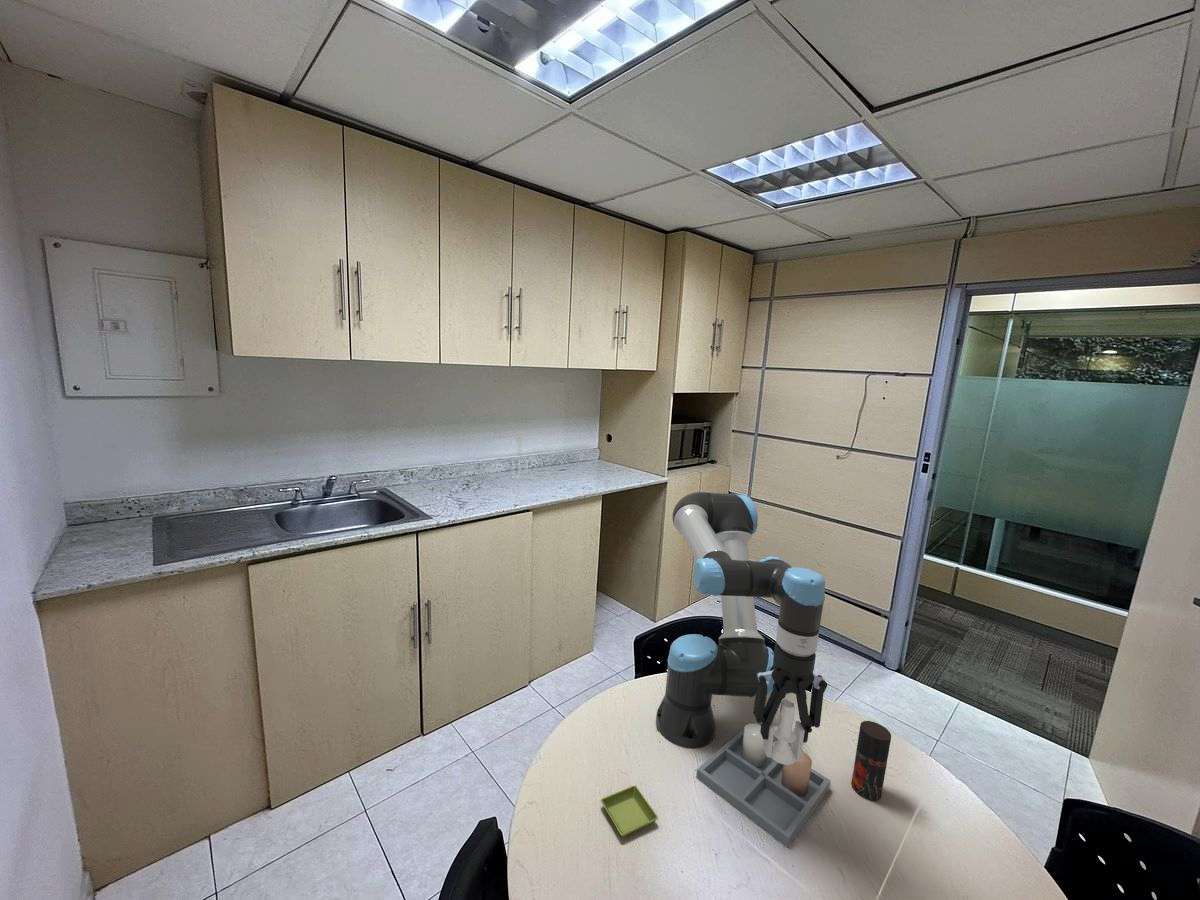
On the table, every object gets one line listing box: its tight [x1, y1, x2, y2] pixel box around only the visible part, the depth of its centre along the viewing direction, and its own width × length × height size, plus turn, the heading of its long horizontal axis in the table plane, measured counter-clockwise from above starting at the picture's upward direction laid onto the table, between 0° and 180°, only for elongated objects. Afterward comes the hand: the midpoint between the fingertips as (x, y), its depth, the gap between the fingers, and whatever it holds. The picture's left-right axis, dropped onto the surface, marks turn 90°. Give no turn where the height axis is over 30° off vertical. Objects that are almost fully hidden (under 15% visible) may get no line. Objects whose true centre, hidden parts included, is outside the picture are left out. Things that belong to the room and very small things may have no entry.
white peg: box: [771, 699, 797, 765], centre depth 95 cm, size 5×5×12 cm
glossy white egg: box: [741, 723, 766, 768], centre depth 111 cm, size 6×6×7 cm
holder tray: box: [695, 727, 832, 848], centre depth 105 cm, size 21×21×2 cm
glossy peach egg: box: [781, 747, 813, 797], centre depth 104 cm, size 6×6×7 cm
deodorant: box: [850, 720, 892, 802], centre depth 104 cm, size 6×6×15 cm
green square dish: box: [600, 785, 659, 837], centre depth 95 cm, size 9×9×2 cm
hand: (781, 753), depth 96 cm, fingers closed on white peg, 5 cm apart
